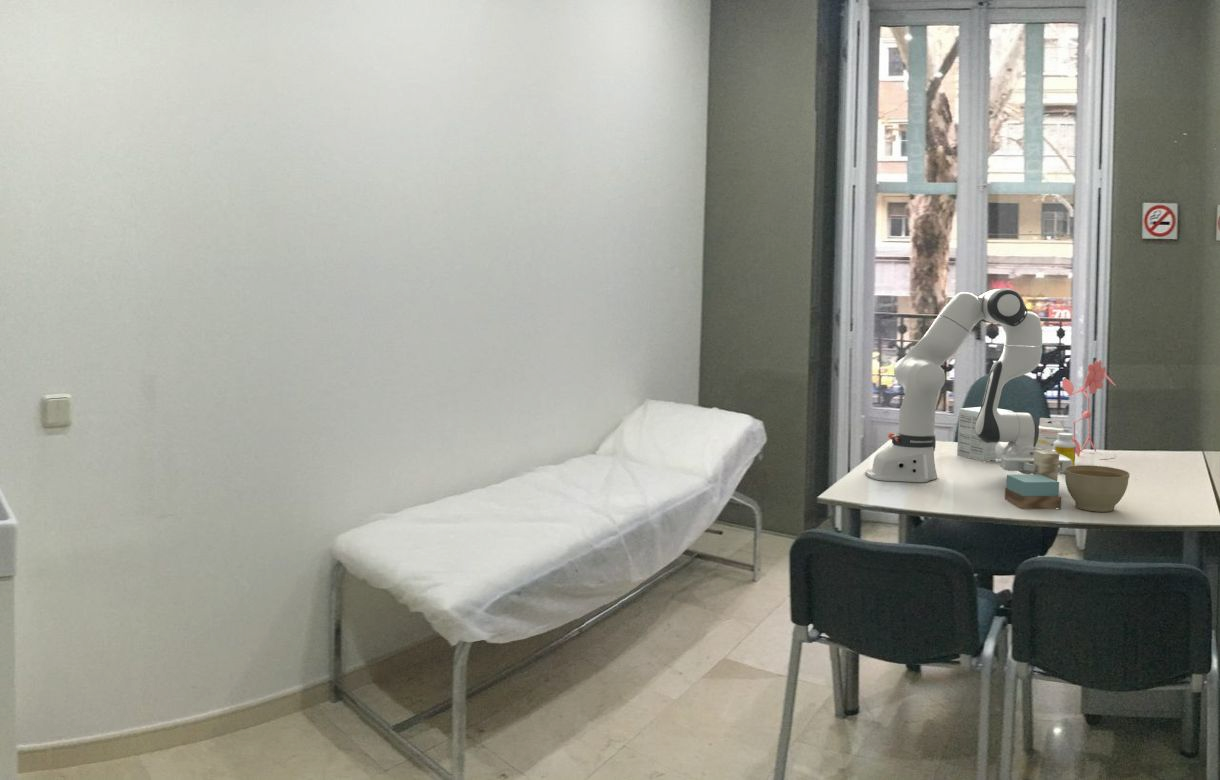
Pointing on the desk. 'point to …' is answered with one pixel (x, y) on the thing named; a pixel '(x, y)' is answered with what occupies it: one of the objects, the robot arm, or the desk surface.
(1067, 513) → the desk surface
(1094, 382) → the pink flower sculpture
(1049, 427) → the ink cartridge box
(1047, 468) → the ash pillar block
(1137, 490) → the desk surface
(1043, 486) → the teal top block
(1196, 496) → the desk surface
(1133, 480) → the desk surface
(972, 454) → the supplement box
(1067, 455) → the supplement bottle
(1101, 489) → the planter bowl
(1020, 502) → the walnut base block
